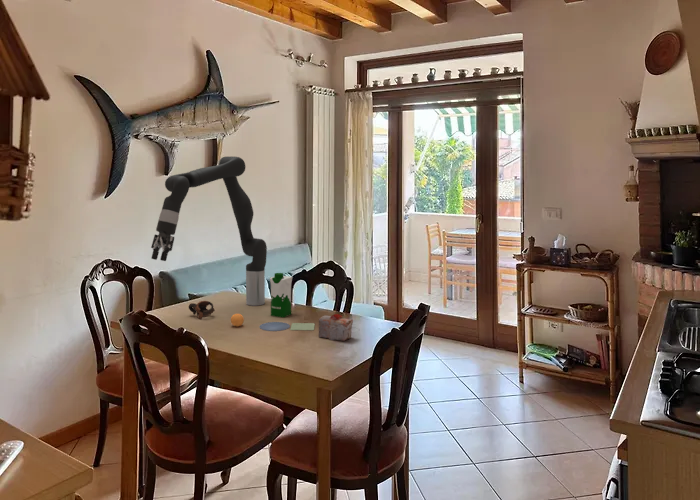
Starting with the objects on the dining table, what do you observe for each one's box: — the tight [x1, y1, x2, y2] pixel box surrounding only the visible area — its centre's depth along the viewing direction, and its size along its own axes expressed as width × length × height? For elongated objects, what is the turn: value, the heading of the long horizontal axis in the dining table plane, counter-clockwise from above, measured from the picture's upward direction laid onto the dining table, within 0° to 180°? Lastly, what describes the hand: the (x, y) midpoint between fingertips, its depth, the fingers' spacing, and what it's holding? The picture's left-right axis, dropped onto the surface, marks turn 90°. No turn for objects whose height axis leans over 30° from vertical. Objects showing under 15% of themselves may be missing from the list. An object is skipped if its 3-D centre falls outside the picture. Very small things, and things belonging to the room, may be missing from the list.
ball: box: [230, 313, 245, 327], centre depth 220 cm, size 6×6×6 cm
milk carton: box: [269, 272, 293, 319], centre depth 239 cm, size 9×9×20 cm
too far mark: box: [289, 322, 316, 331], centre depth 222 cm, size 10×10×1 cm
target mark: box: [258, 321, 291, 332], centre depth 221 cm, size 13×13×1 cm
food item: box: [318, 313, 354, 342], centre depth 207 cm, size 14×8×10 cm, turn 66°
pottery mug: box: [188, 300, 216, 320], centre depth 234 cm, size 12×10×8 cm
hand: (158, 260), depth 212 cm, fingers open, 8 cm apart
